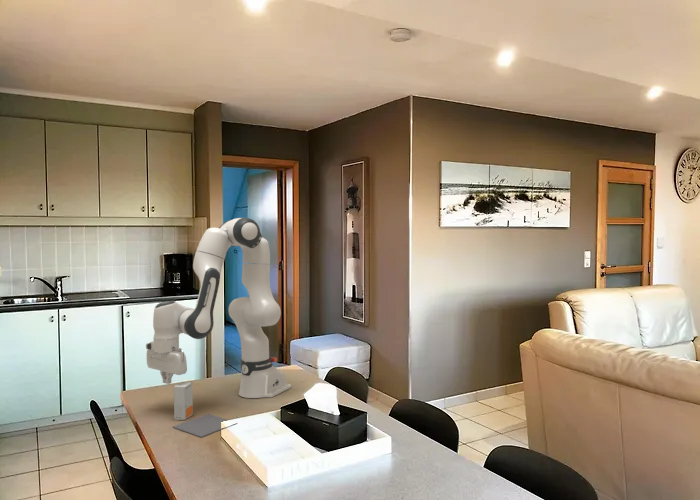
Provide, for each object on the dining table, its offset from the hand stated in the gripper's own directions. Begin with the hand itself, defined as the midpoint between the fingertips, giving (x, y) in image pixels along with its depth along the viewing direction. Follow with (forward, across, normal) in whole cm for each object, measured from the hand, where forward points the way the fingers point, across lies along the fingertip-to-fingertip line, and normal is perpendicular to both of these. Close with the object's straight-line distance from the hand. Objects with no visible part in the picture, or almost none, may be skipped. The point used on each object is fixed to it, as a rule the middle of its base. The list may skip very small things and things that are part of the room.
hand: (167, 383), depth 195 cm
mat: (+11, -22, 0) cm, 25 cm away
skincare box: (+11, -9, -1) cm, 14 cm away
